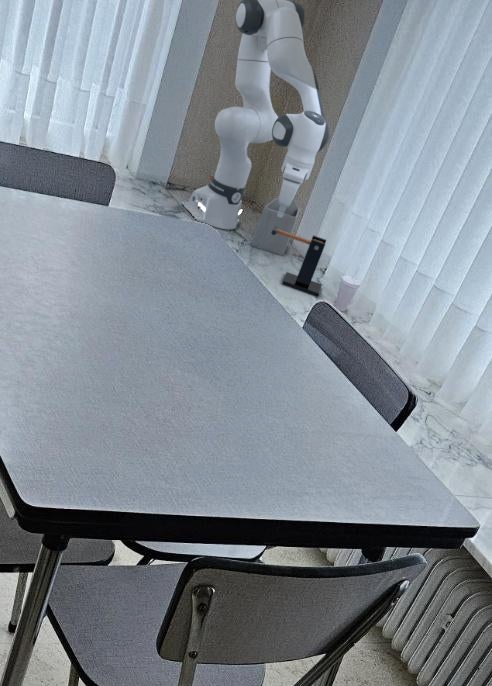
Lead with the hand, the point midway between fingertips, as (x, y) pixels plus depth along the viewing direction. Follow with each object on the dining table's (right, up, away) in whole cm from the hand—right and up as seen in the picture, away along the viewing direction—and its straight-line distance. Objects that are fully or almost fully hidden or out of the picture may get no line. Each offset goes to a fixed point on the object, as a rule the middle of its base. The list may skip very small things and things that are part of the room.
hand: (281, 212), depth 311 cm
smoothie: (+19, -29, +4) cm, 35 cm away
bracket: (+8, -20, +11) cm, 24 cm away
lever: (+5, -8, +4) cm, 10 cm away
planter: (+2, -4, +32) cm, 32 cm away
